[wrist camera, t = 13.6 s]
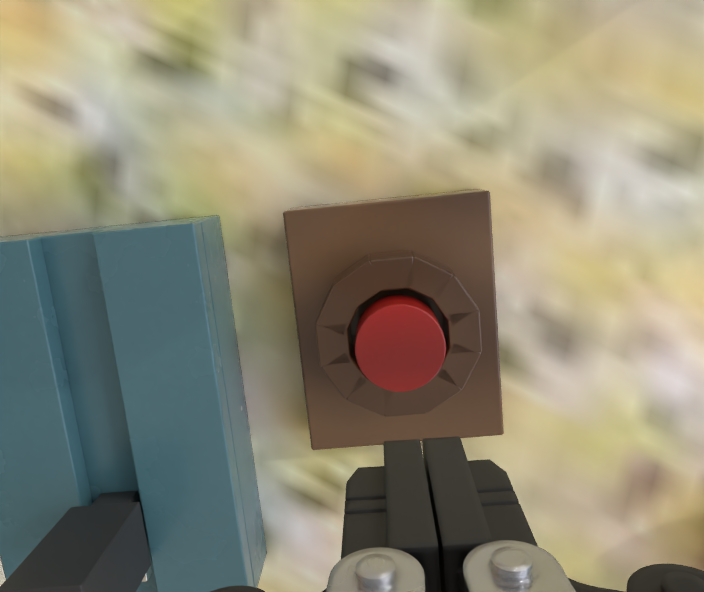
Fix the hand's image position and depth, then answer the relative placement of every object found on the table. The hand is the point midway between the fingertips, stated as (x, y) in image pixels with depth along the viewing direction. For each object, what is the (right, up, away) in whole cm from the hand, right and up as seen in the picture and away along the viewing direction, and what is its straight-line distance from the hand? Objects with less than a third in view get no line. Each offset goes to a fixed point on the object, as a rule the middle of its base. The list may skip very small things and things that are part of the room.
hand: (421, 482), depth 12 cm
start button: (0, +2, +11) cm, 12 cm away
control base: (-11, -1, +16) cm, 20 cm away
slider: (-11, -6, +14) cm, 19 cm away
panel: (+1, +3, +15) cm, 15 cm away
